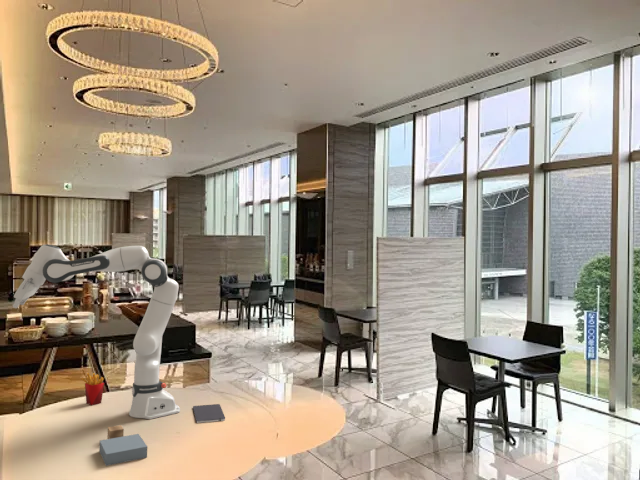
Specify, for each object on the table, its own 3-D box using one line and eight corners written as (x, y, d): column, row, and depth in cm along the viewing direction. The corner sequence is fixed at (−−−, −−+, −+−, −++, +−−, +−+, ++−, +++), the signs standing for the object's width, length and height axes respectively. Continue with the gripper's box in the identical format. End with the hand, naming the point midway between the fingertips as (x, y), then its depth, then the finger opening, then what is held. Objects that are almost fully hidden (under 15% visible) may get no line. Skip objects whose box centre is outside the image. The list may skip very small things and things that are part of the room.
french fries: (96, 400, 240) (97, 370, 241) (105, 403, 236) (106, 372, 236) (79, 404, 233) (80, 373, 234) (88, 408, 228) (89, 376, 229)
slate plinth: (138, 444, 188) (138, 433, 189) (147, 457, 177) (147, 446, 177) (99, 451, 181) (99, 440, 181) (105, 465, 169) (106, 454, 169)
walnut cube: (120, 437, 195) (121, 425, 195) (123, 441, 191) (123, 429, 191) (107, 439, 192) (107, 427, 192) (109, 444, 188) (110, 431, 188)
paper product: (192, 409, 233) (196, 424, 213) (193, 405, 233) (196, 420, 213) (219, 407, 237) (225, 421, 217) (219, 403, 237) (225, 418, 217)
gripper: (35, 282, 205) (18, 312, 203) (46, 278, 224) (31, 305, 222) (20, 276, 203) (3, 306, 201) (33, 272, 222) (17, 300, 220)
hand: (18, 305), depth 212 cm, fingers open, 8 cm apart
